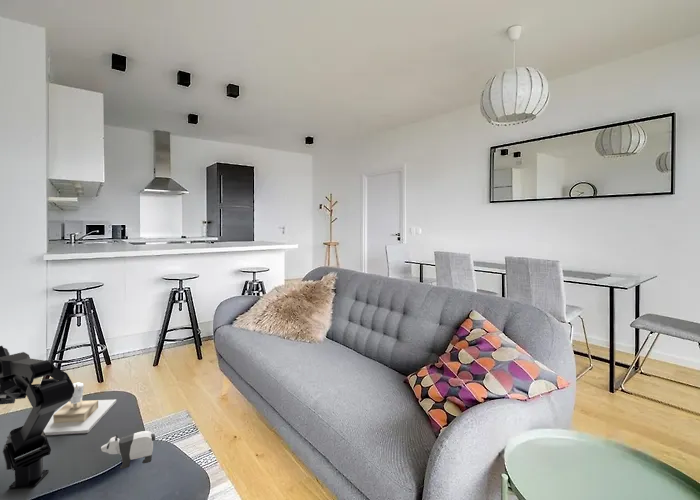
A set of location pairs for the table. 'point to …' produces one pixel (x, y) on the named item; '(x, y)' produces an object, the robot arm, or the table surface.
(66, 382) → the robot arm
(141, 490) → the table surface
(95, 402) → the plinth
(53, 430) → the baseplate
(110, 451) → the giant panda
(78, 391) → the milkshake
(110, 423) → the table surface
